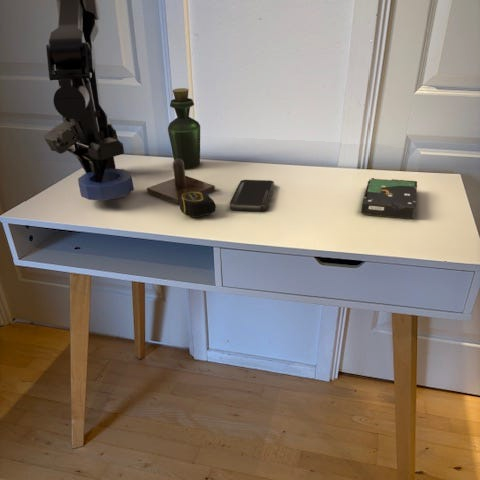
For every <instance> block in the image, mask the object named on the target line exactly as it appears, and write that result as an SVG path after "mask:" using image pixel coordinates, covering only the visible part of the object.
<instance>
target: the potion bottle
mask: <svg viewBox="0 0 480 480" xmlns="http://www.w3.org/2000/svg"><path fill="white" fill-rule="evenodd" d="M189 90H190V89H189V88H185V87H179V88H174V89H172V93H173V97H174V98H173V99H171V100H170V103H169V107H170V108H173V109H174V111H175V114H176V118H175V119H173V120H172V121H171V122H169V124H168V126H167V133H168V137H169V142H170V148H171V152H172V158H173V161H174V160H175V159H181V160H182V161H183V162H184V170H192V169H196V168H198V167H199V166H200V165H201V124H200V123H199V121H197V120H196V119H194V118H192V117H191V116H190V111H191V108H192V107H194V106H195V103H194V100H193V99H192V98H190V97H189Z"/></svg>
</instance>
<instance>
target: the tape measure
mask: <svg viewBox="0 0 480 480" xmlns="http://www.w3.org/2000/svg"><path fill="white" fill-rule="evenodd" d="M178 206H179V210H180V211H181V213H182V214H183V215H185V216H187V217H193V218H194V217H195V218H199V217H203V216H206V215H209V214H213V213H215V212H216V210H217V205H216V202H215V201H214V199H213V198H211V197H210V195H209V193H207V192H206V191H200V192H188V193H185V194H183V195H182V196H181V197H180V200H179V205H178Z"/></svg>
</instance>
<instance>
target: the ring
mask: <svg viewBox="0 0 480 480" xmlns="http://www.w3.org/2000/svg"><path fill="white" fill-rule="evenodd" d="M77 180H78V181H77V182H78V183H77V184H78V187H79V192H80V196H81V197H82V198H84V199H87V200H89V201H108V200H109V201H110V200H116V199H120V198H123V197H125V196H129V195H130V194H131V193H132V192H133V191H134V190H135V187H134V179H133V176H132V173H131V171H129V170H126V169H123V168H116V169H105V172H104V175H103V179H102V182H101V183H98V182H96V181H95V178H94V175H93V172H89V173H86V172H85V173H84V174H82V175H81V176H79V177H78V178H77Z"/></svg>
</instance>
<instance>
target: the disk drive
mask: <svg viewBox="0 0 480 480" xmlns="http://www.w3.org/2000/svg"><path fill="white" fill-rule="evenodd" d="M417 191H418V181H416V180H408V179H407V180H405V179H395V178H392V179H383V178H374V177H371V178H370V179H368V181H367V185H366V188H365V191H364V195H363V198H362V201H361V208H360V214H361V215H362V214H363V215H369V216H379V217H387V218H399V219H414V218H415V212H416V207H417V202H416V201H417Z"/></svg>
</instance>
